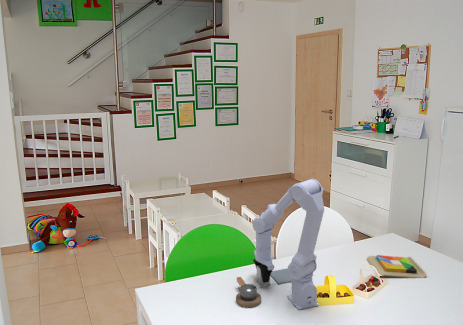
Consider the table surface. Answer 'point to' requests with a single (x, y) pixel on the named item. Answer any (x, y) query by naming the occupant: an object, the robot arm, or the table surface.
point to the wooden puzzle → (396, 266)
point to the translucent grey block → (259, 277)
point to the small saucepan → (247, 290)
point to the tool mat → (281, 276)
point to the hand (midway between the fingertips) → (263, 279)
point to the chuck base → (248, 303)
